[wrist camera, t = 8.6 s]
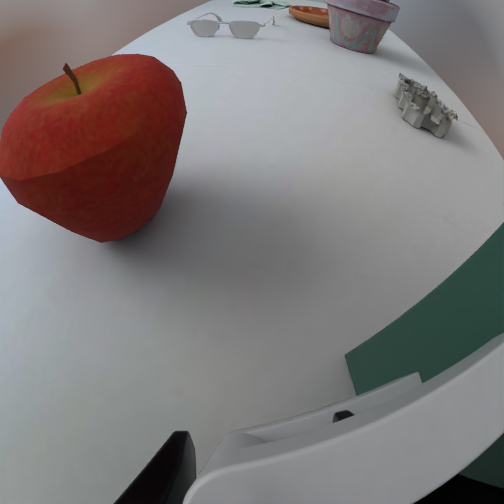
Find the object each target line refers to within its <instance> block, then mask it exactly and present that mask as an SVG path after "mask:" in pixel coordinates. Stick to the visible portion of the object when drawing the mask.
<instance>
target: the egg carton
mask: <svg viewBox="0 0 504 504" xmlns="http://www.w3.org/2000/svg"><path fill="white" fill-rule="evenodd" d="M394 96H395V97H396V98H398V99H399V102H398V107H400V108H402V109H403V112H402V118H403V119H405V120H406V121H408V122H409V123H410V124H411V125H412V126H413V127H416V128H418V129H419V128H420V127H424V128H427V129H429V130H430V131H431V132H432V133H433V134H434V135H435V136H437V137H439V138H441V136H445V135H446V133H447V132H448V130H449V129H450V127H451V121H452V120H456V121H457V119H458V118H457V117H458V116H457V114H456V113H455V111H453V110H449V108H448V107H446V106H445V104H444V103H443V102H441V100H439V99H437V94H435V92H434V91H433V92H429V91H428V90H427V86H422V85H421V84H420V83H418V82H415V81H414V80H413V79H408V78H407V77H405V76H404V75H402V74H401V73H400V74H399V82H398V85H397V88H396V90H395V94H394Z"/></svg>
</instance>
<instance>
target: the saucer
mask: <svg viewBox="0 0 504 504" xmlns="http://www.w3.org/2000/svg"><path fill="white" fill-rule="evenodd" d="M289 13H290V14H291V15H293V16H294V17H295V18H297V19H299V20H301V21H304V22H307V23H310V24H314V25H318V26H323V27H328V28H330V26H329V15H328V9H325V8H318V7H310V6H290V7H289Z"/></svg>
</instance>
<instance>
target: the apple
mask: <svg viewBox="0 0 504 504" xmlns="http://www.w3.org/2000/svg"><path fill="white" fill-rule="evenodd" d="M63 70H64V71H65V74H63V75H61V76H59V77H57V78H56V79H53V80H52V81H49V82H48V83H46V84H44V85H43V86H41V87H39V88H38V89H36V90H35V91H33V92H32V93H31V94H29V95H28V96H26V97H25V98H24V99H23V100H22V101H21V102H20V103H19V105H18V106H17V107H16V108H15V109H14V111H13V112H12V113H11V114H10V116H9V118H8V119H7V121H6V123H5V125H4V127H3V129H2V134H1V139H0V178H1V179H2V181H3V182H4V184H5V185H6V187H7V188H8V190H9V191H10V192H11V194H12V195H13V197H14V198H15V199H16V201H17V202H18V203H19V204H21V205H23V206H24V207H26V208H28V209H30V210H32V211H34V212H36V213H38V214H39V215H41V216H43V217H45V218H47V219H49V220H51V221H53V222H54V223H56V224H58V225H60V226H62V227H64V228H66V229H68V230H70V231H72V232H74V233H77V234H79V235H82V236H85V237H87V238H90V239H93V240H95V241H98V242H101V243H102V242H108V241H114V240H119V239H121V238H123V237H125V236H127V235H129V234H131V233H133V232H135V231H137V230H138V229H139V228H141V227H142V226H143V225H144V224H146V223H147V222H148V221H150V220H151V219H152V218H153V216H154V215H155V213H156V212H157V211H158V209H159V208H160V206H161V204H162V202H163V199H164V196H165V194H166V191H167V188H168V186H169V183H170V181H171V178H172V176H173V172H174V168H175V163H176V159H177V154H178V150H179V146H180V141H181V137H182V133H183V128H184V124H185V119H186V115H187V111H186V106H185V100H184V95H183V90H182V85H181V82H180V81H179V79H178V77H177V76H176V74H175V73H174V71H173V70H172V69H170V68H169V67H167V66H166V65H165V64H163V63H162V62H160V61H159V60H158V59H156V58H155V57H152V56H147V55H141V54H122V55H114V56H110V57H106V58H103V59H99V60H95V61H92V62H90V63H87V64H85V65H83V66H80V67H78V68H76V69H74V70H71V69H70V67H69V66H68V65H67V63H66V64H65V65H64V67H63Z"/></svg>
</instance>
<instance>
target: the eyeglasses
mask: <svg viewBox="0 0 504 504" xmlns="http://www.w3.org/2000/svg"><path fill="white" fill-rule="evenodd" d="M207 14H213V15H215V16H216V17H217V20H218V21H221V20H222V19H221V18H220V17H219V16H218V15H216V14H214V13H207ZM207 14H205V15H207ZM203 16H204V15H203ZM201 17H202V16H201ZM198 18H200V17H198ZM272 18H273V20H272V24H273V25H274V24H275V21H274V16H273V17H272ZM196 19H197V18H196ZM268 22H269V21H268ZM268 22H267V23H268ZM188 24H190V27H191V29H192V30H193V32H194V33H195V34H196V35H197V36H201V37H210V36H213V35H214V34H215V33H216V31H217V30H218V29H219V27H220V25H219V24H224V23H218V22H217V21H214V20H195V19H194V20H193V21H189V22H187V25H188ZM225 24H229V28H230V30H231V32H232V34H233V35H234V36H235V37H238V38H244V39H248V38H253V37H254V36H255V35H256V34H257V32H258V31H259V29H260V27H264V26H265V24H266V23H264V24H258V23H257V22H253V21H232V22H230V23H225Z"/></svg>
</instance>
